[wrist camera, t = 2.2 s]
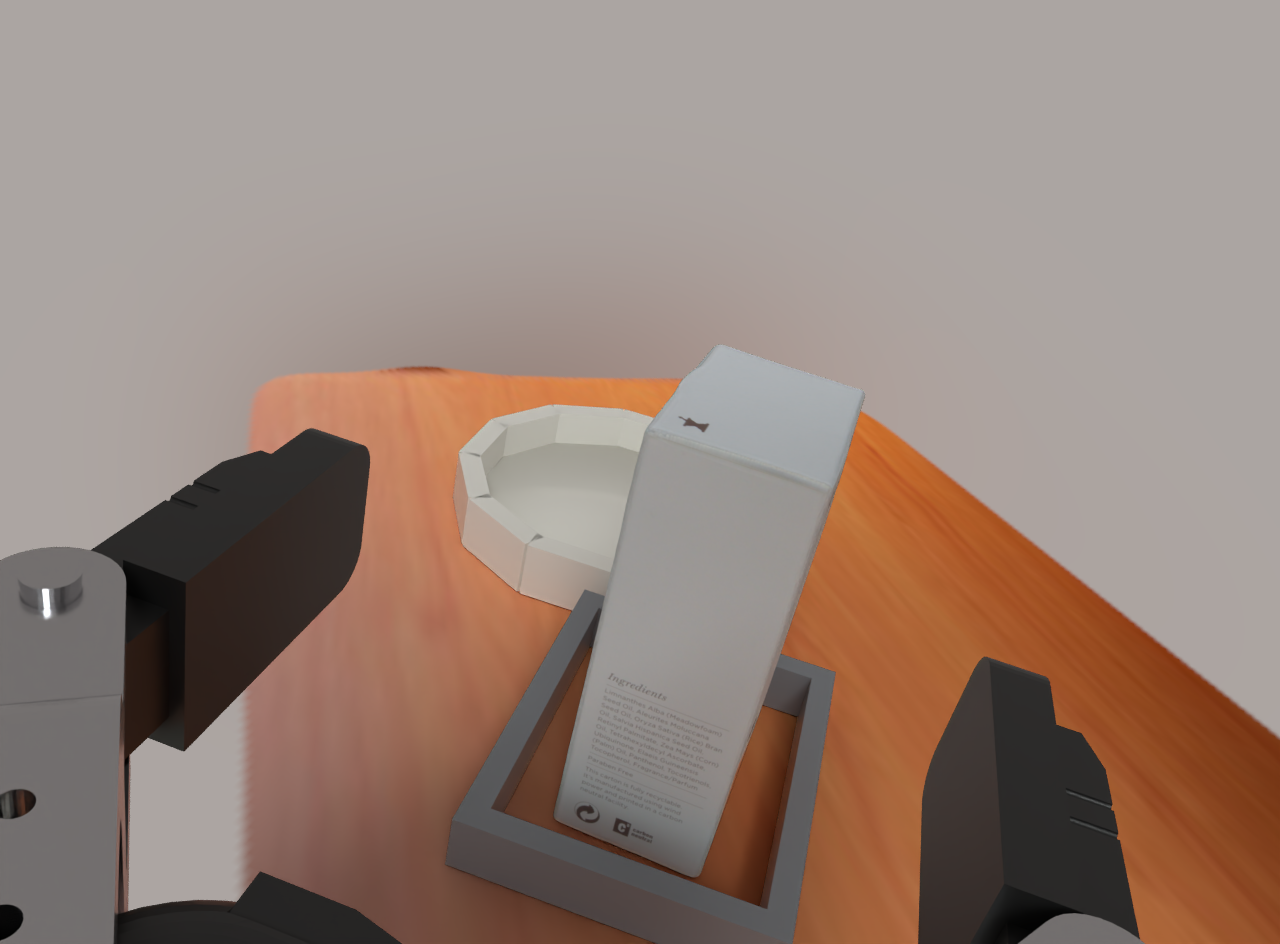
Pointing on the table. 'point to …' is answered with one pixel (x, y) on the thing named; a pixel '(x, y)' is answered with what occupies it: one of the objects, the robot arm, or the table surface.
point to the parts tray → (614, 885)
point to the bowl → (549, 497)
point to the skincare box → (702, 600)
